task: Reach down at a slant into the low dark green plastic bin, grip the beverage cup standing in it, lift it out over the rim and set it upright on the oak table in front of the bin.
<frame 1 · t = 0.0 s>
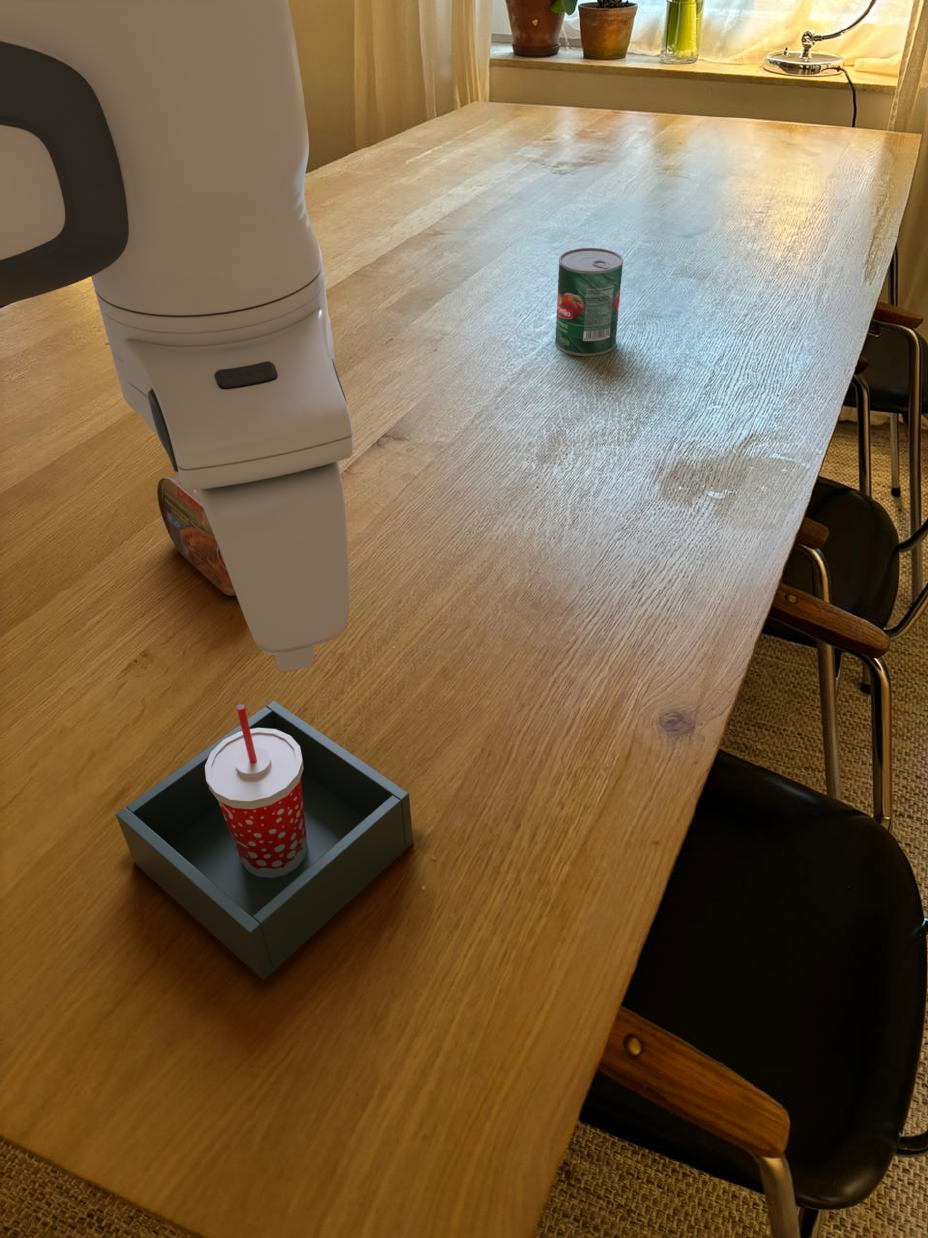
hand: (271, 600, 50), 25 cm above the table, tool pointing down, fingers open, 8 cm apart
bin: (274, 852, 69), on the table
canned tomato: (585, 344, 129), on the table
beverage cup: (274, 851, 68), resting on bin
tin: (217, 569, 94), on the table
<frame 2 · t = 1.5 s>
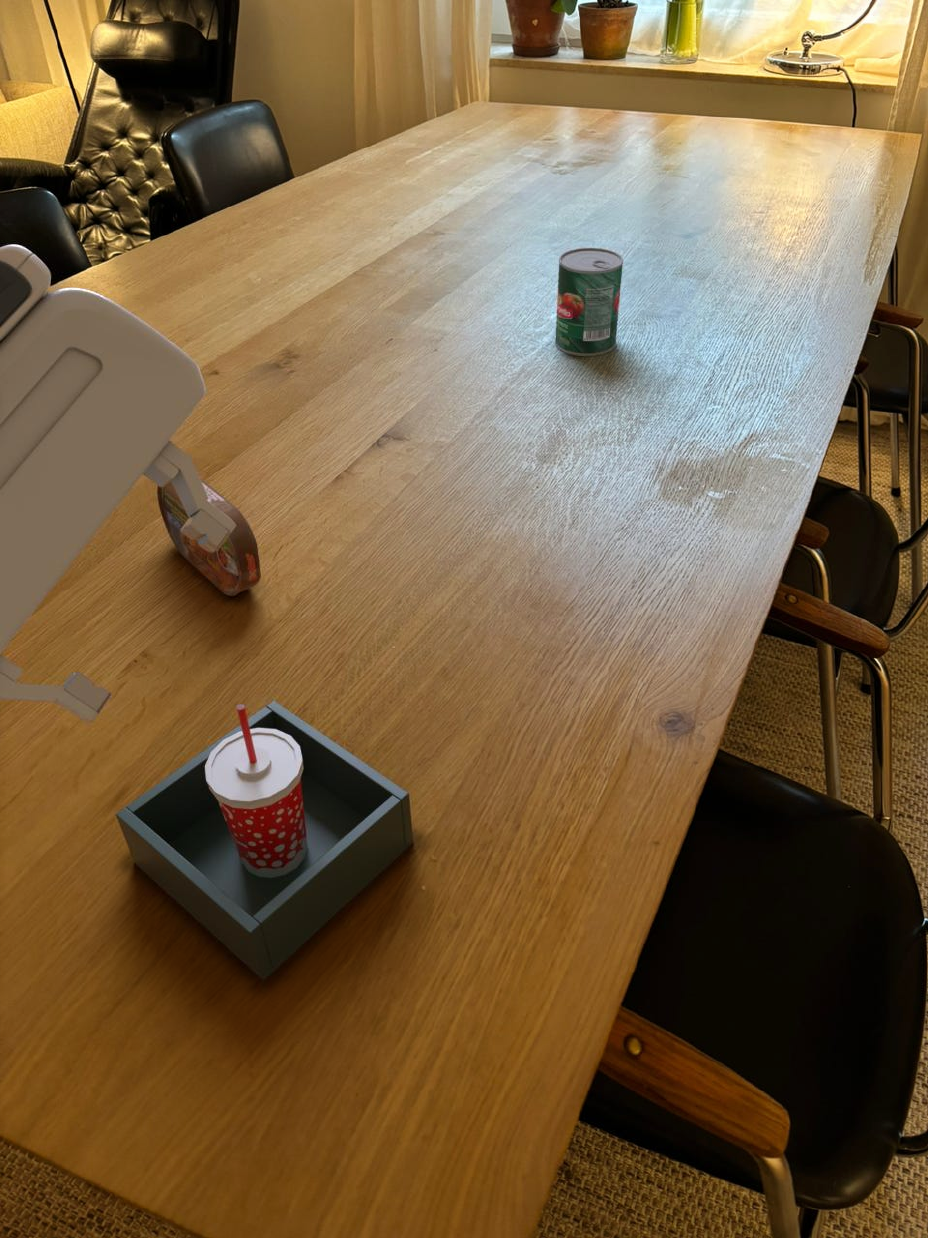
hand: (164, 621, 44), 28 cm above the table, tool tilted 45°, fingers open, 8 cm apart
nothing on the table moved.
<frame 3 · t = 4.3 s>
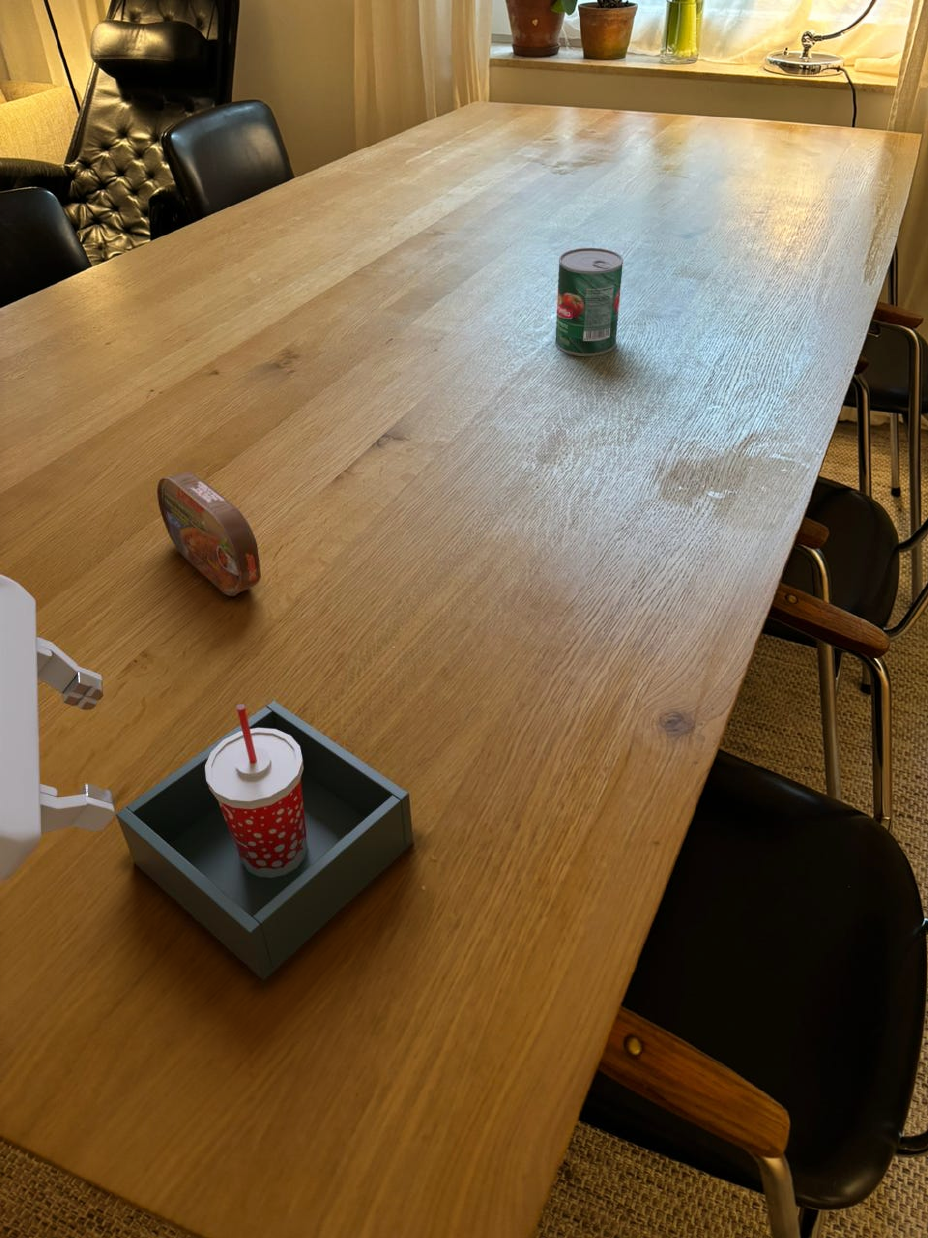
hand: (103, 750, 56), 15 cm above the table, tool tilted 45°, fingers open, 8 cm apart
nothing on the table moved.
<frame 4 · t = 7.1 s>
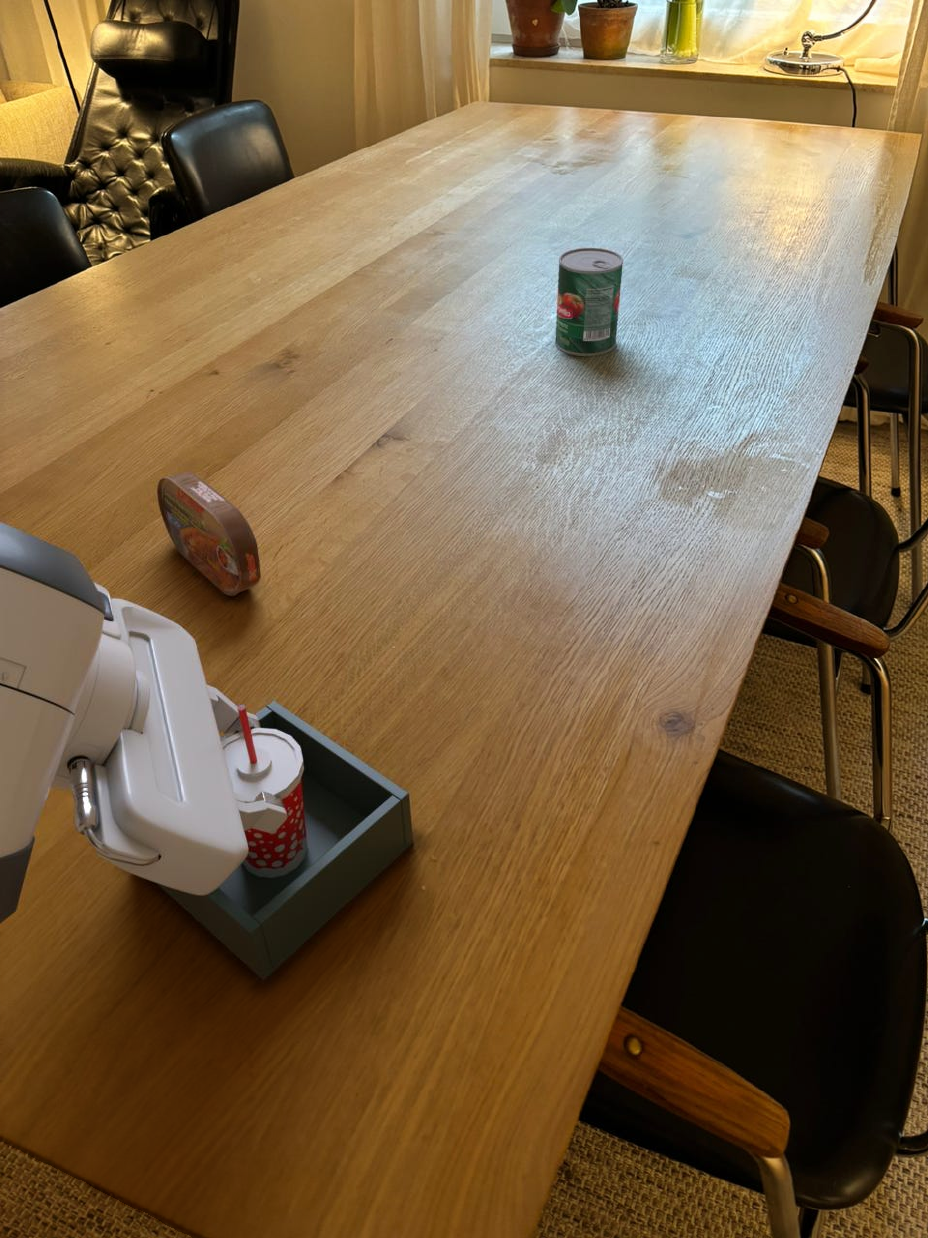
hand: (266, 772, 63), 8 cm above the table, tool tilted 45°, fingers closed on beverage cup, 6 cm apart
beverage cup: (274, 851, 68), resting on bin, touching gripper
everything else where it was.
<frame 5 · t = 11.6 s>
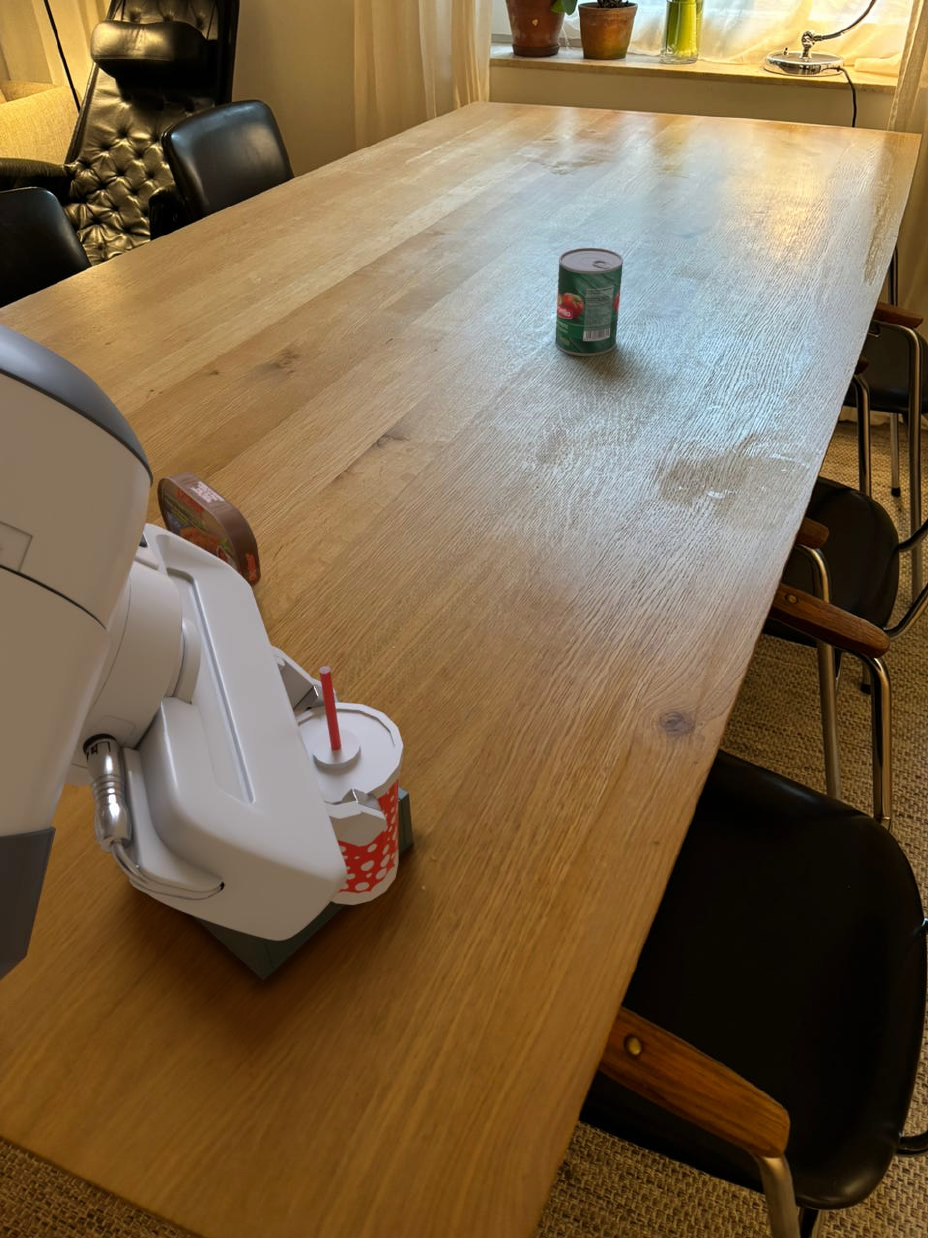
hand: (351, 763, 47), 21 cm above the table, tool tilted 45°, fingers closed on beverage cup, 6 cm apart
beverage cup: (354, 868, 51), point 13 cm above the table, touching gripper
everything else where it was.
when the fingers open (8 cm above the table, at t = 16.1 s): beverage cup stays where it is, on the table.
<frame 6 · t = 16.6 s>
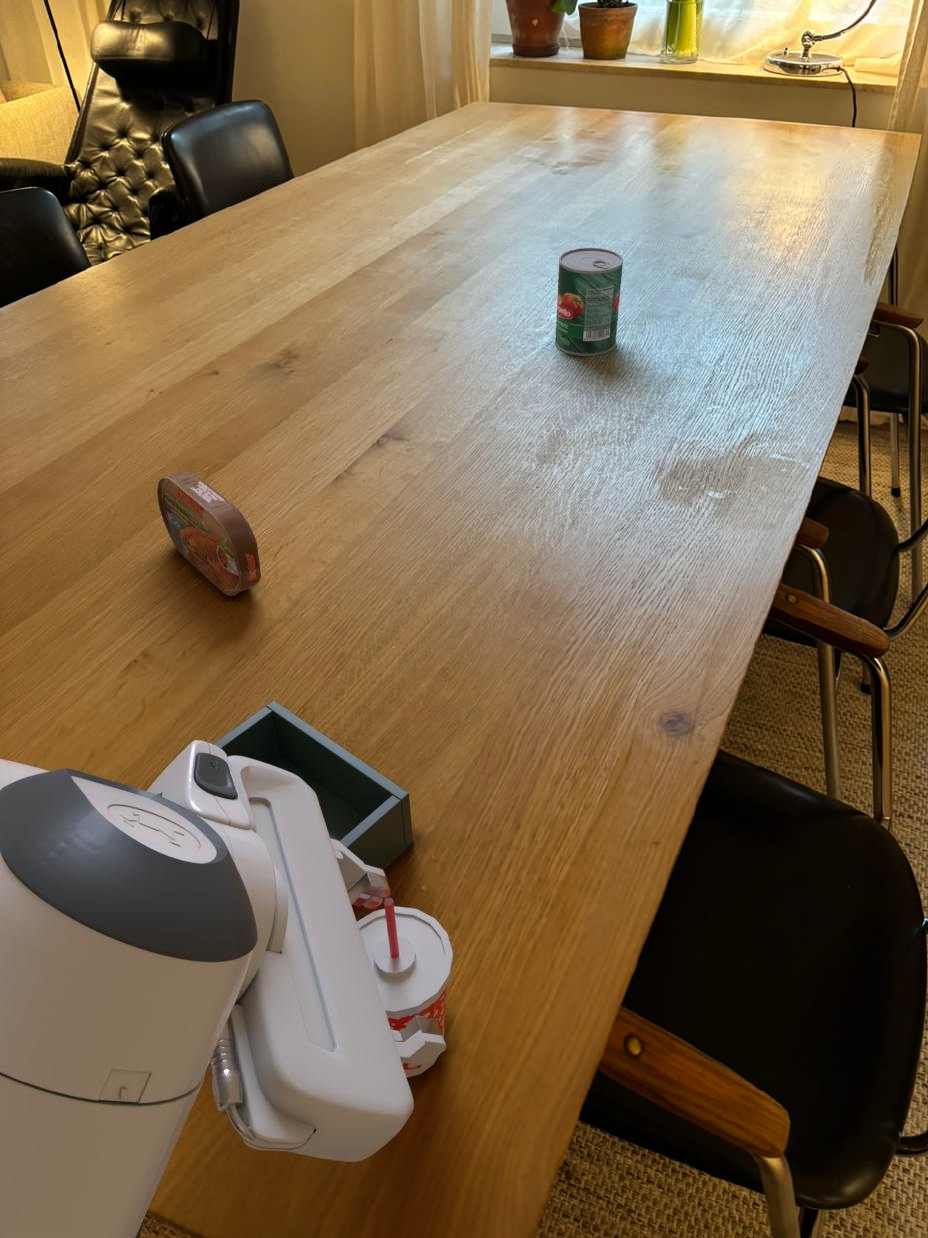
hand: (405, 961, 53), 8 cm above the table, tool tilted 45°, fingers open, 8 cm apart
beverage cup: (404, 1040, 58), on the table
everything else where it was.
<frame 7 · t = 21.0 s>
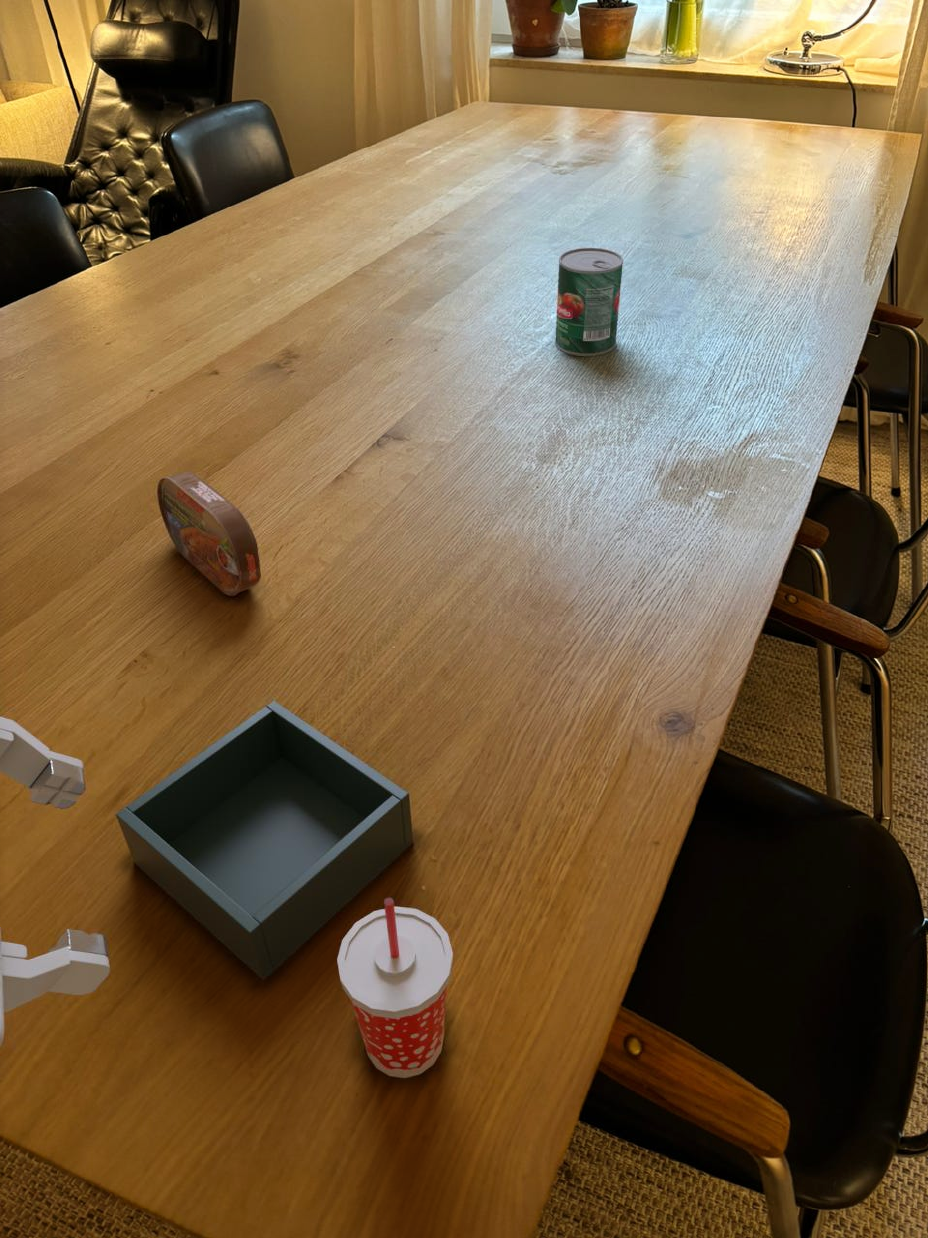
hand: (88, 868, 41), 22 cm above the table, tool tilted 45°, fingers open, 8 cm apart
nothing on the table moved.
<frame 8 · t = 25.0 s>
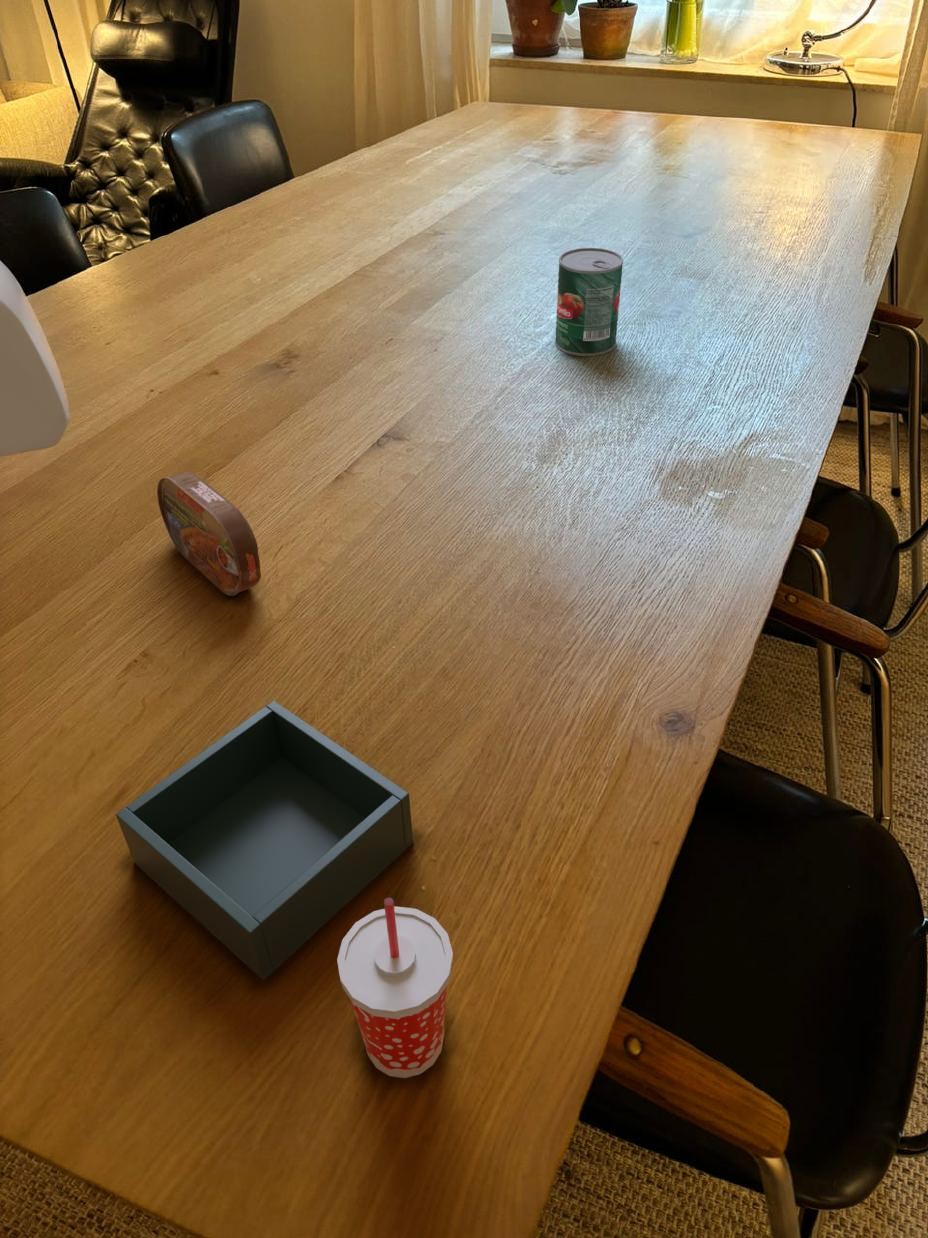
nothing on the table moved.
at the end: beverage cup inside the target area (0.1 cm from its centre), on the table; beverage cup tilted 0°; beverage cup touching table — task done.
